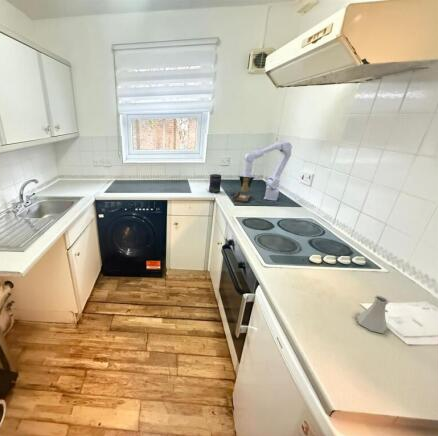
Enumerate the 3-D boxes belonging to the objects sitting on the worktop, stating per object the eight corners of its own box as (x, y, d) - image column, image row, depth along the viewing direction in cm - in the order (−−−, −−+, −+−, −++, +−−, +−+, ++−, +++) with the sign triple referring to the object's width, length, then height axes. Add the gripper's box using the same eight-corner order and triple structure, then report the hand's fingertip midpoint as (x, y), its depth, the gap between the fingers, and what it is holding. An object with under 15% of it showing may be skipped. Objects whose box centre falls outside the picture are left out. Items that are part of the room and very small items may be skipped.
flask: (386, 337, 70) (399, 311, 66) (355, 325, 75) (365, 300, 71) (386, 322, 75) (398, 298, 71) (356, 311, 80) (366, 287, 76)
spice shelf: (250, 196, 197) (251, 192, 196) (246, 202, 183) (247, 198, 182) (238, 195, 202) (238, 190, 201) (233, 201, 188) (233, 196, 187)
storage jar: (211, 189, 220) (212, 173, 214) (221, 191, 214) (223, 174, 209) (207, 192, 212) (208, 175, 207) (217, 193, 207) (219, 177, 201)
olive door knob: (240, 191, 188) (242, 177, 184) (240, 189, 193) (242, 176, 189) (249, 192, 186) (251, 178, 182) (248, 190, 191) (250, 176, 187)
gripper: (236, 169, 183) (234, 186, 189) (256, 171, 176) (254, 188, 182) (238, 168, 189) (236, 184, 194) (258, 169, 182) (255, 186, 187)
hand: (245, 186), depth 188 cm, fingers closed on olive door knob, 5 cm apart
